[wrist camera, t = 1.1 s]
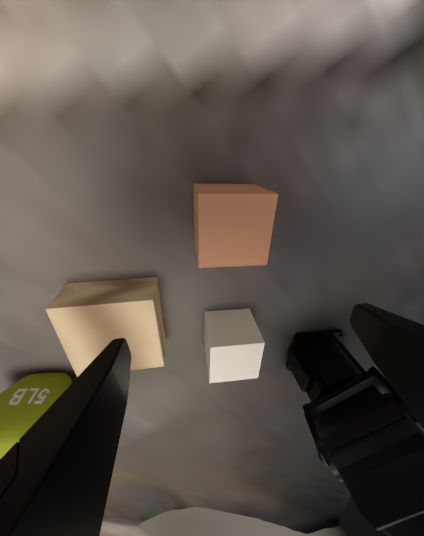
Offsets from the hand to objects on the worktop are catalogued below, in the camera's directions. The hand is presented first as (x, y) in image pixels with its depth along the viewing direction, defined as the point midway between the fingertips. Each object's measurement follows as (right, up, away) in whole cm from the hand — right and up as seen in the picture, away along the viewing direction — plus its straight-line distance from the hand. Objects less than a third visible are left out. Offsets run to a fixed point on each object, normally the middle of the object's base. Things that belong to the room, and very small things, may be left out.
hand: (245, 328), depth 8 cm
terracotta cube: (0, +7, +10) cm, 12 cm away
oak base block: (-11, -2, +14) cm, 18 cm away
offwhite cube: (0, -4, +17) cm, 17 cm away
